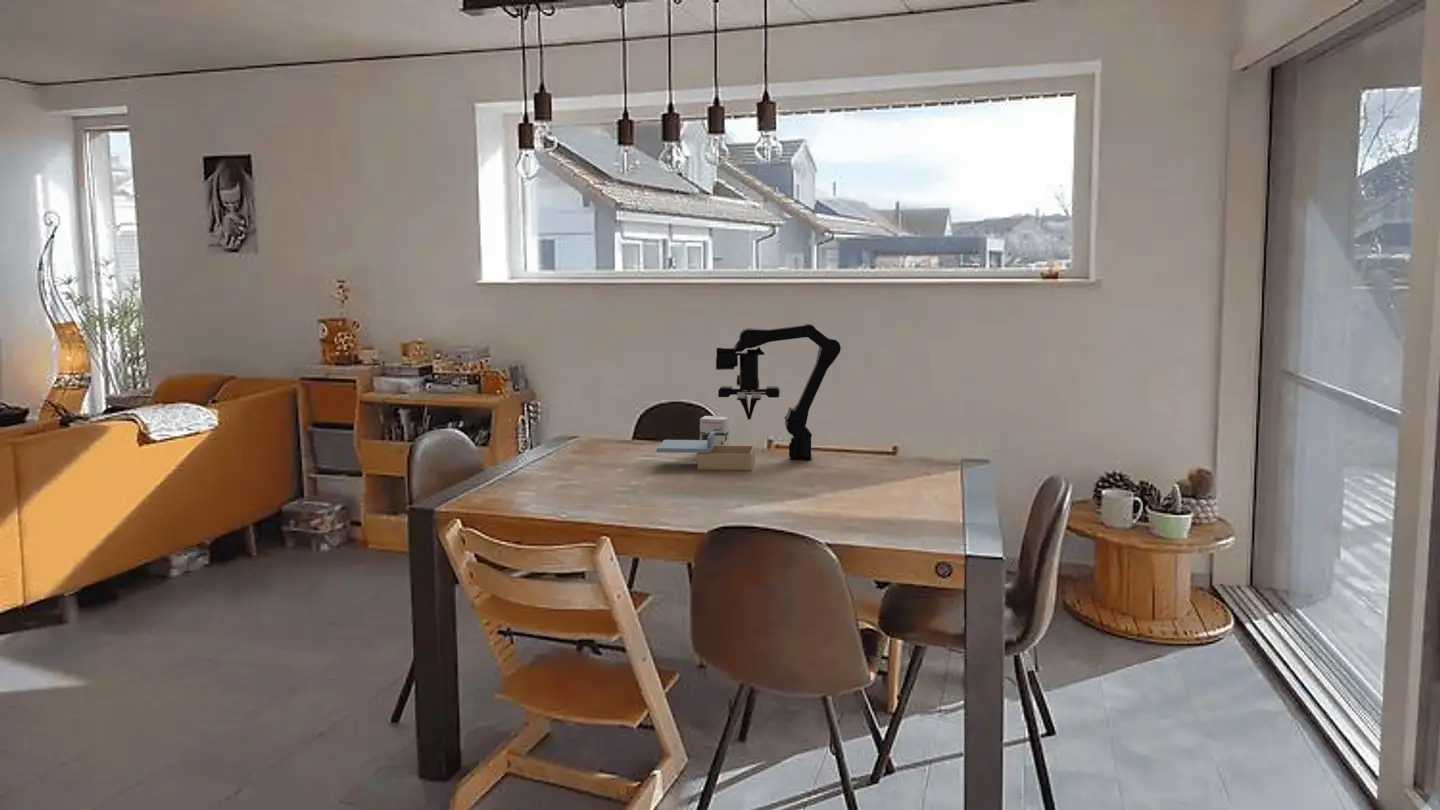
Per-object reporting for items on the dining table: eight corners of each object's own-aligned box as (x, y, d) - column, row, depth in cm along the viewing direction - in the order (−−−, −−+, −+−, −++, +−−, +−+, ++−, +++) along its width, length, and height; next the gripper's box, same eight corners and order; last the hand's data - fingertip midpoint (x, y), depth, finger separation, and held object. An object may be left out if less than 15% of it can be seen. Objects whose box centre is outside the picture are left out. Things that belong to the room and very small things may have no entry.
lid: (715, 444, 323) (715, 430, 322) (709, 452, 309) (709, 438, 309) (664, 443, 325) (663, 430, 324) (656, 452, 311) (656, 438, 310)
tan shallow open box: (755, 461, 322) (754, 445, 322) (751, 470, 309) (751, 454, 308) (703, 460, 324) (703, 444, 323) (697, 470, 310) (697, 453, 310)
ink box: (699, 454, 335) (698, 418, 333) (704, 451, 339) (703, 415, 338) (724, 455, 332) (724, 419, 330) (729, 452, 337) (729, 416, 335)
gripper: (780, 366, 329) (780, 415, 332) (721, 366, 331) (722, 415, 334) (778, 370, 318) (778, 421, 321) (717, 370, 320) (718, 420, 323)
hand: (749, 419), depth 325 cm, fingers closed
